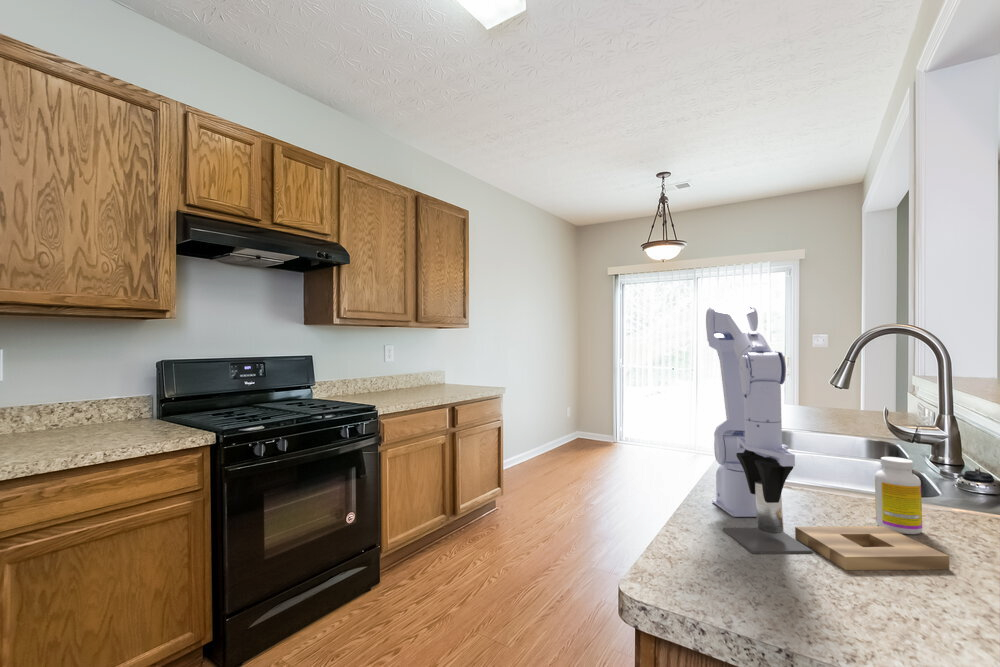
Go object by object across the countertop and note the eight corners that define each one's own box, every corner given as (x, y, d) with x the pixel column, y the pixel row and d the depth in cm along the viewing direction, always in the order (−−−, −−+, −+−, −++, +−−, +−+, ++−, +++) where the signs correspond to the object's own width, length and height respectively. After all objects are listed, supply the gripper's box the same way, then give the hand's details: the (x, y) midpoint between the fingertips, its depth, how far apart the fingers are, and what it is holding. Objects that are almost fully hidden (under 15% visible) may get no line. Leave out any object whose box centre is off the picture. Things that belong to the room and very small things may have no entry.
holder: (795, 538, 84) (795, 526, 84) (884, 537, 84) (884, 526, 84) (845, 570, 72) (845, 556, 72) (949, 569, 72) (949, 555, 72)
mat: (722, 529, 88) (722, 527, 88) (776, 529, 88) (776, 527, 88) (752, 553, 78) (752, 551, 78) (812, 553, 78) (812, 550, 78)
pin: (753, 524, 85) (750, 480, 85) (777, 524, 84) (774, 479, 85) (763, 533, 81) (760, 486, 81) (788, 533, 80) (785, 486, 81)
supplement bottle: (931, 537, 84) (929, 464, 84) (889, 534, 85) (887, 462, 86) (907, 523, 91) (905, 456, 91) (868, 520, 92) (866, 454, 92)
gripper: (812, 426, 76) (814, 511, 76) (761, 414, 91) (763, 485, 90) (769, 427, 76) (771, 512, 76) (725, 414, 90) (726, 485, 90)
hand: (764, 497), depth 83 cm, fingers closed on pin, 4 cm apart
